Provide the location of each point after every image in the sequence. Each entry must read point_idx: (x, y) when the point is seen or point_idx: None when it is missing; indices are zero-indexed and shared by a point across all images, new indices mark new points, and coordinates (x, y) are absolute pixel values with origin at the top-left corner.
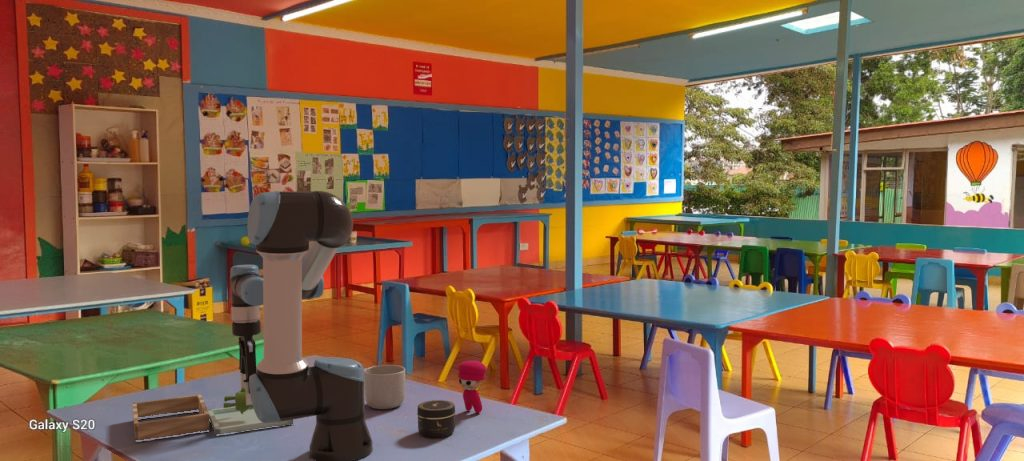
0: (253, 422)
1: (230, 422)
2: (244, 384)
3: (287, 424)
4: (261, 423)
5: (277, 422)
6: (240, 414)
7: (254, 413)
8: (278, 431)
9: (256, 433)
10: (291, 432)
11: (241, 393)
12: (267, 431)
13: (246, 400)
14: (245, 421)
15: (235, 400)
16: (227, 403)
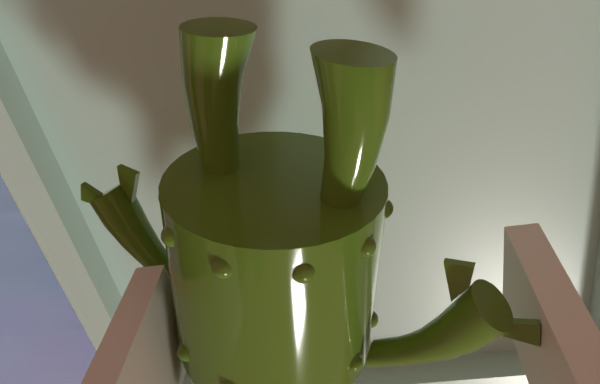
0: None
1: None
2: (558, 382)
3: None
4: (59, 273)
5: None
6: (479, 115)
7: (449, 218)
8: (37, 321)
9: (5, 213)
10: (12, 371)
11: (228, 309)
12: (43, 271)
13: (120, 307)
14: None
15: (160, 200)
16: (198, 84)
